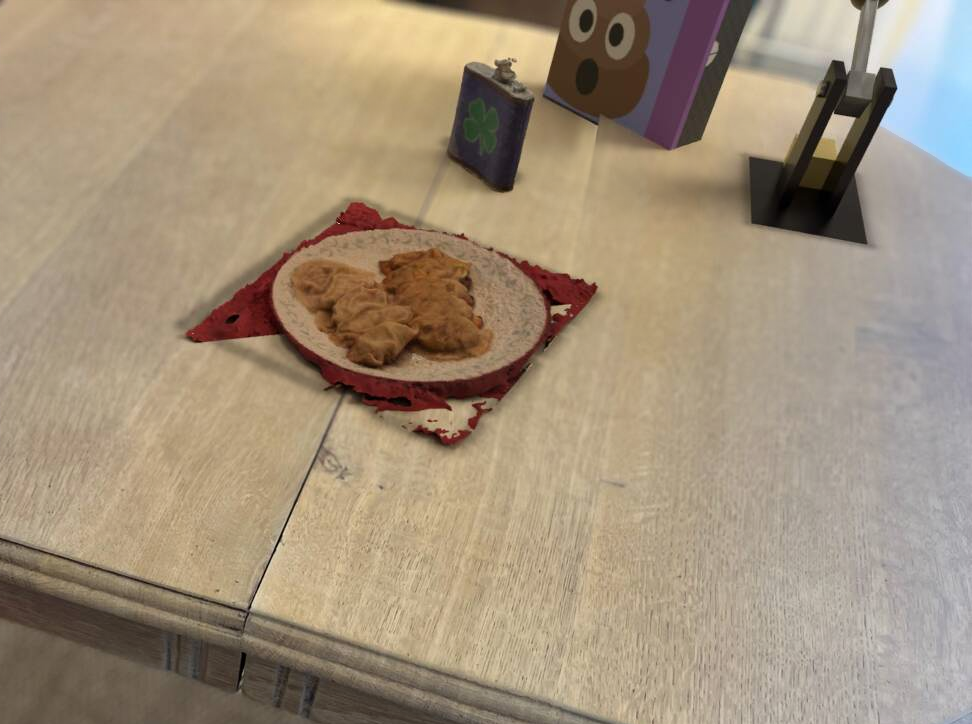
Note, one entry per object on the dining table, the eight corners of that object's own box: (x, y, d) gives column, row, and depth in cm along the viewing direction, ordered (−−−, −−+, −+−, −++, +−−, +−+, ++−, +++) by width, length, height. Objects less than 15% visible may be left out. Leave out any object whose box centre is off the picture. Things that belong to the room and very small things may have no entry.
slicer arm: (845, -13, 99) (863, -46, 95) (886, -7, 98) (906, -40, 94) (821, 117, 94) (840, 88, 91) (864, 124, 94) (884, 95, 90)
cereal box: (542, 96, 116) (609, -161, 99) (572, 87, 118) (643, -167, 101) (666, 161, 107) (764, -111, 89) (696, 150, 109) (799, -118, 91)
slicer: (744, 167, 106) (800, 35, 97) (849, 186, 105) (916, 52, 95) (746, 234, 97) (808, 95, 88) (861, 256, 95) (936, 116, 86)
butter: (782, 162, 105) (796, 133, 103) (820, 169, 104) (834, 140, 102) (784, 183, 102) (798, 153, 100) (823, 190, 101) (838, 160, 99)
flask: (441, 153, 106) (463, 42, 98) (464, 148, 107) (488, 38, 99) (498, 195, 101) (526, 81, 93) (522, 189, 102) (552, 76, 94)
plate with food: (594, 305, 89) (606, 268, 86) (453, 458, 74) (463, 418, 71) (352, 216, 98) (357, 181, 95) (184, 336, 83) (184, 297, 80)
